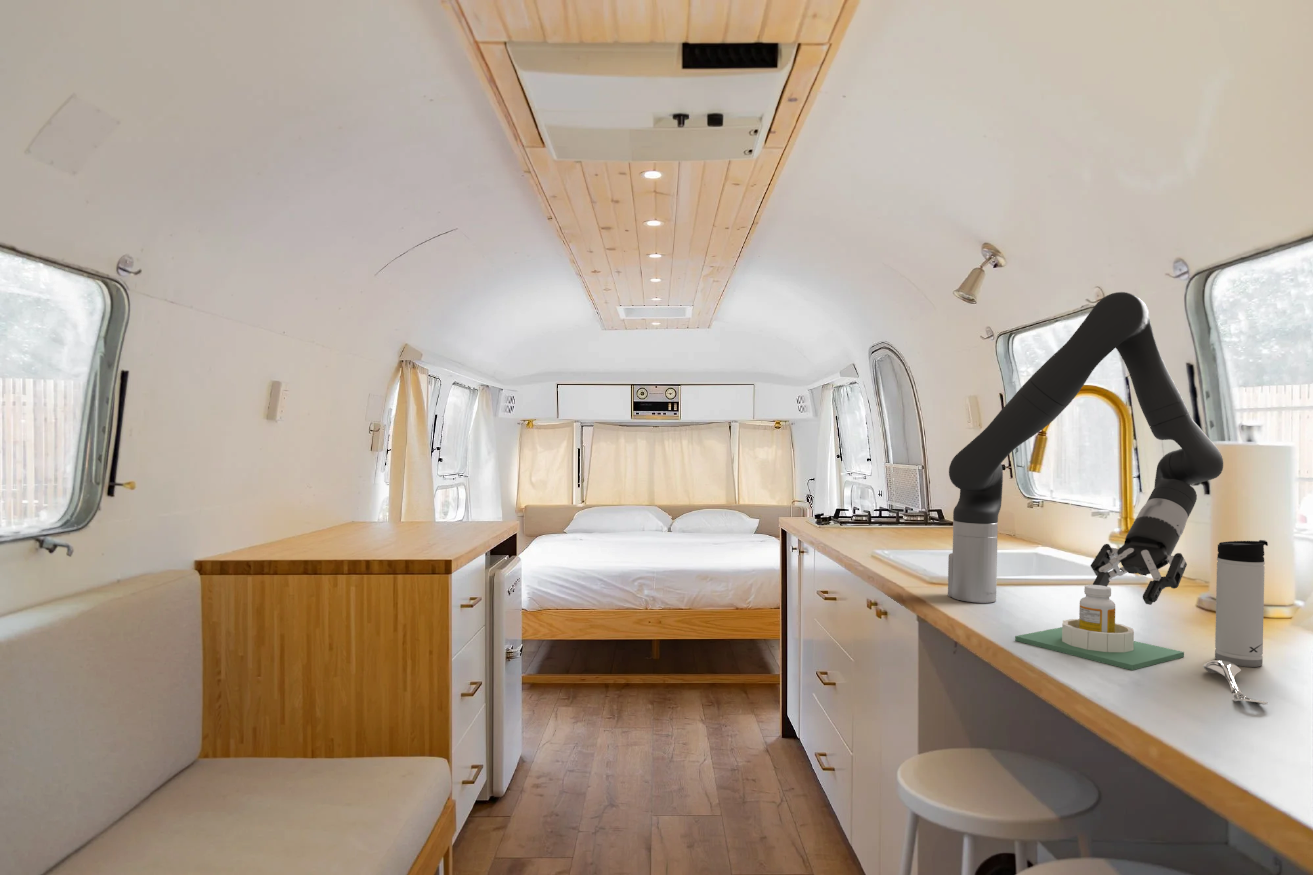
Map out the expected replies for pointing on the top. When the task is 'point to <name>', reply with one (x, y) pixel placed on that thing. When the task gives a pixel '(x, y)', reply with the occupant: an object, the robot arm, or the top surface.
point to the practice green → (1101, 645)
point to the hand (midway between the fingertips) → (1121, 596)
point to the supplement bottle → (1097, 610)
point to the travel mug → (1240, 602)
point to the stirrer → (1229, 678)
